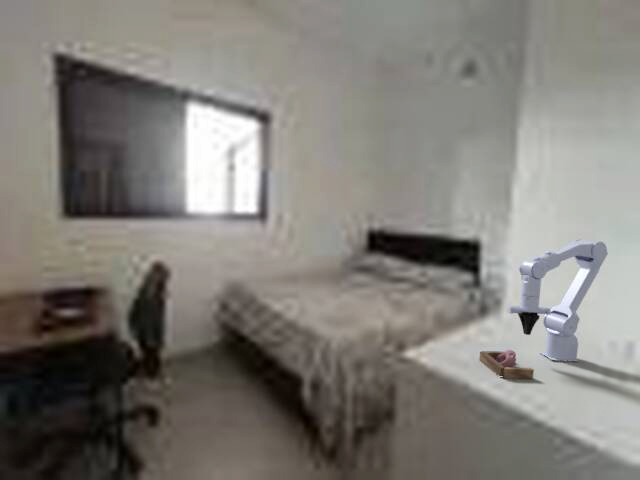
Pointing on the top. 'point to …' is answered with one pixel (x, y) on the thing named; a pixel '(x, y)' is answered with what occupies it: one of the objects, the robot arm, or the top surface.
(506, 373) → the docking bay
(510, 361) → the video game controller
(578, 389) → the top surface
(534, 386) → the top surface
